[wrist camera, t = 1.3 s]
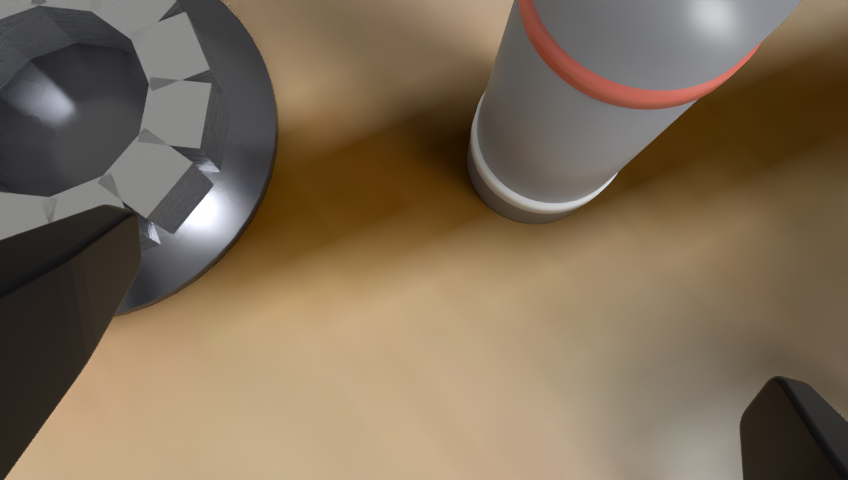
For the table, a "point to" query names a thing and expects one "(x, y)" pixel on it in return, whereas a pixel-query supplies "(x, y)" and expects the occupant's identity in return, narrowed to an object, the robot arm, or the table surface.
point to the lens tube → (598, 91)
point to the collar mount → (136, 126)
